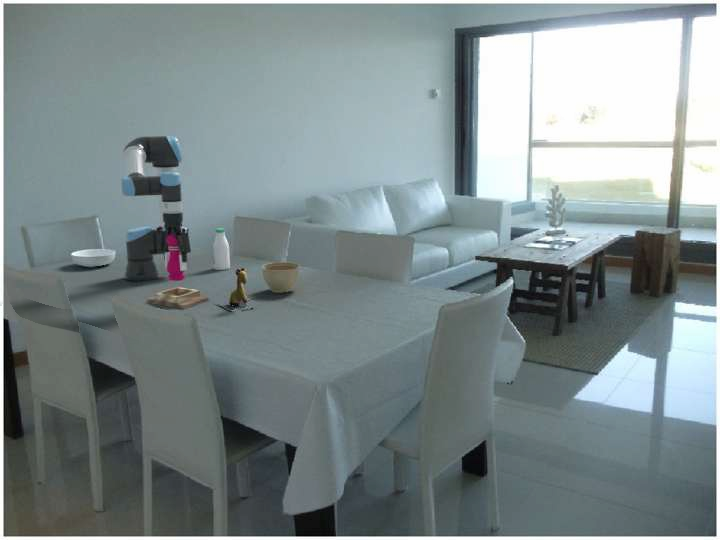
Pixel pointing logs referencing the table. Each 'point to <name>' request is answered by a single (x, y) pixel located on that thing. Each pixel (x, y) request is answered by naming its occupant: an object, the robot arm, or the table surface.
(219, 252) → the milk bottle
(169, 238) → the pepper mill
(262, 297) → the table surface
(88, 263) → the serving bowl
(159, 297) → the holder board
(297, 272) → the planter bowl
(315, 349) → the table surface
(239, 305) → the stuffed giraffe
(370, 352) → the table surface
